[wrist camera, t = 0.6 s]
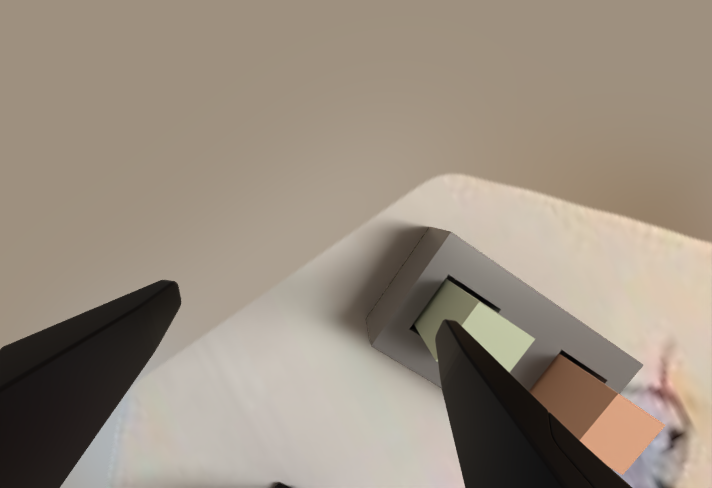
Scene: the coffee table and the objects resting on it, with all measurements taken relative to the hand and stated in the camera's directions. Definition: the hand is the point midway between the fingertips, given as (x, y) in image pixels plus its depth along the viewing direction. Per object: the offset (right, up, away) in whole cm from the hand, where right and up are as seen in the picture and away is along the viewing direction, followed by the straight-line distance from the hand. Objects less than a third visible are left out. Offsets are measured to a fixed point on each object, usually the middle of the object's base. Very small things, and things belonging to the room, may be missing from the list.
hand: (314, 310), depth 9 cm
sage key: (+9, -4, +13) cm, 16 cm away
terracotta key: (+19, -10, +15) cm, 26 cm away
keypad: (+14, -6, +18) cm, 24 cm away
